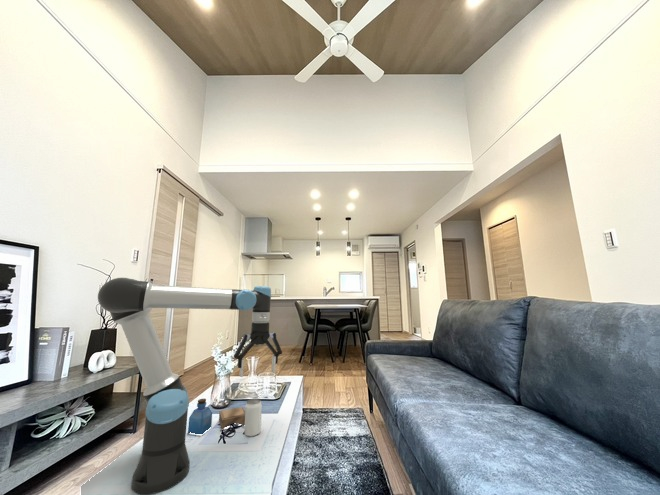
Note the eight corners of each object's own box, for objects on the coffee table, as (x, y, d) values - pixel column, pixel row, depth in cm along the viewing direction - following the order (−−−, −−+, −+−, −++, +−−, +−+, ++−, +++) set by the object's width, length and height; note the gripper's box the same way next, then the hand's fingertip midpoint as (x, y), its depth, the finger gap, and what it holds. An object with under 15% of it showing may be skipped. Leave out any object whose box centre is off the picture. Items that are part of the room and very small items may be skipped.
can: (256, 437, 105) (257, 404, 107) (241, 436, 106) (242, 403, 108) (263, 429, 111) (264, 398, 113) (249, 428, 112) (250, 397, 114)
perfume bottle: (198, 427, 113) (200, 396, 116) (211, 428, 112) (213, 397, 114) (187, 434, 108) (190, 402, 110) (201, 436, 106) (203, 403, 108)
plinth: (221, 430, 110) (222, 419, 111) (218, 420, 119) (219, 410, 120) (246, 425, 115) (247, 414, 116) (242, 416, 124) (242, 405, 124)
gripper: (232, 323, 107) (228, 380, 103) (290, 321, 120) (288, 372, 116) (229, 322, 114) (224, 375, 110) (284, 320, 126) (282, 368, 122)
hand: (257, 374), depth 113 cm, fingers open, 13 cm apart
